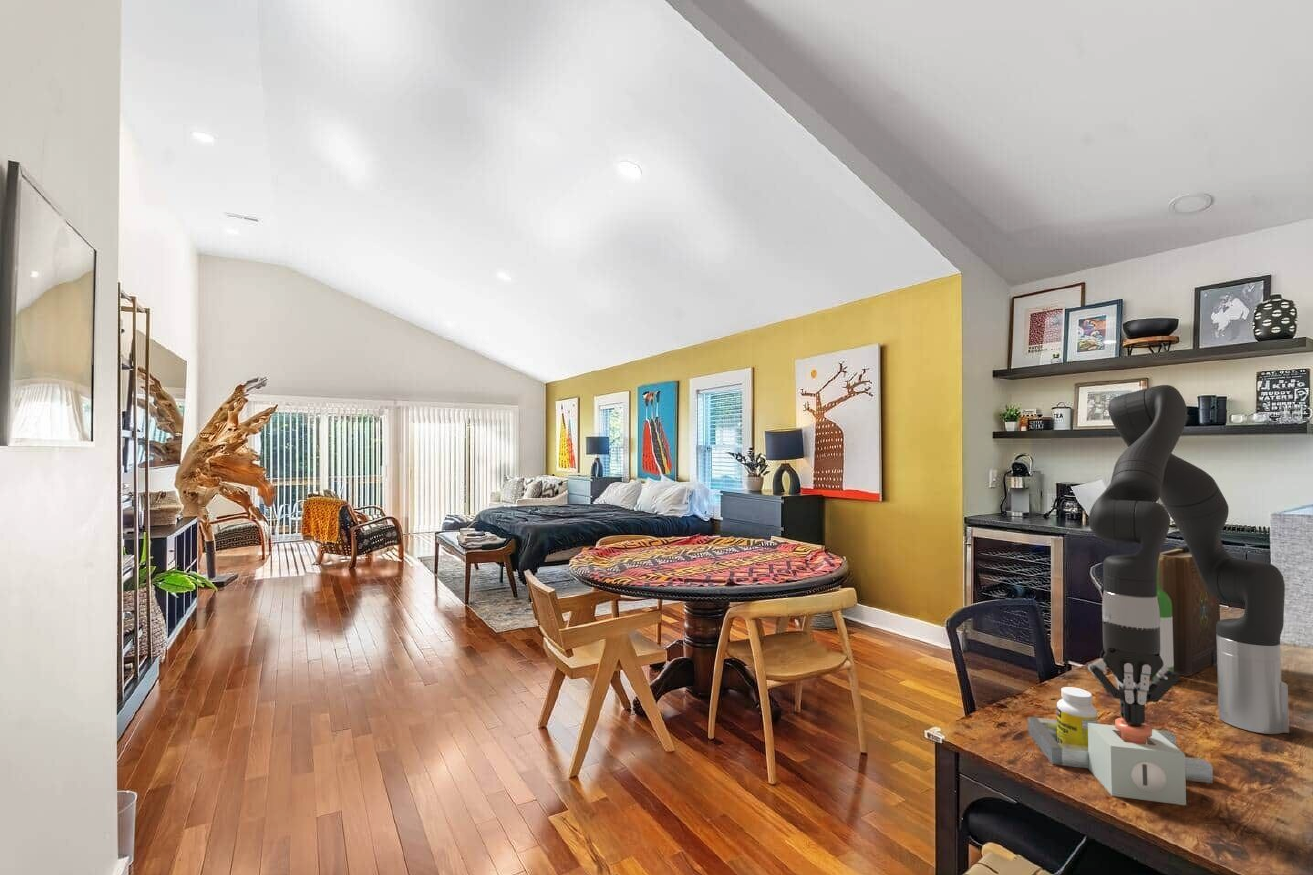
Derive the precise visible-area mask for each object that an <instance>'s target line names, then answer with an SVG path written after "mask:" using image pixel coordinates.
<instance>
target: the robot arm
mask: <svg viewBox="0 0 1313 875" xmlns="http://www.w3.org/2000/svg"><path fill="white" fill-rule="evenodd" d="M1107 406H1108V407H1107V408H1108V414H1109V418H1110V420H1111V422H1112V424H1113V426H1114V428H1115V430H1116V431H1117V433H1118V434H1119V436H1120V438H1122V440H1123V441H1124V443H1125V444H1126V446H1127V448H1126V449H1125V450H1124V451H1123V452H1122V454H1121V455H1120V456H1119V457H1118V458H1117V461H1116V462H1115V464H1114V467H1113V472H1112V475H1111V479H1110V483H1109V485H1108V486H1107V487H1106V489H1104V491H1103V492H1102V493H1101V494H1100V495H1099V497H1097V499H1096V500H1095V502H1094V503H1093V504H1092V507H1091V509H1090V510H1089V514H1088V526H1089V529H1090V530H1091V532H1092V533H1093V535H1095V536H1096V538H1099V539H1101V540H1104V541H1109V542H1121V543H1133V544H1141V546H1140V549H1139V551H1136V553H1131V554H1120V555H1119V554H1117V555H1116V554H1115V555H1110V556H1107V557H1106V558H1105V559H1104V560H1103V566H1102V567H1103V569H1102V572H1103V573H1102V574H1103V575H1102V576H1103V593H1102V594H1103V595H1102V601H1101V606H1102V607H1101V612H1102V614H1101V616H1102V620H1101V621H1102V644H1103V645H1102V646H1103V648H1102V651H1101V652H1100V655H1099V657H1100V658H1099V659H1097V660H1095V661H1094V662H1091V661H1089V662H1086V664H1085V667H1086V669H1087V670H1088V671H1089V672H1090V673H1091V674H1092V675H1093V677H1094V678H1095V679H1096V680H1097V682H1098V683H1099V684H1100V685H1101V686H1102V688H1104V690H1105V691H1106V692H1107V693H1108V694H1110V695H1111V696H1112V697H1113V698H1114V699H1117V700H1119V701H1120V704H1119V705H1120V716H1121V717H1120V718H1123V719H1124V720H1125V722H1126V723H1127V724H1129V725H1130V726H1137V727H1141V723H1143V724H1144V723H1146V709H1145V708H1146V707H1145V706H1146V704H1147V703H1151V702H1153V703H1157V702H1159V700H1161V699H1162V698H1163V697H1164V696H1165V695H1166V694H1167V693H1168V692H1169V690H1171V689H1172V688H1173V687H1174V686H1175V684H1177V683H1178V682H1179V681H1180V679H1181V677H1180V676H1181V675H1178V674H1177V673H1175V672H1173V671H1172V670H1170V669H1168V668H1167V667H1165V666H1164V665H1163V664H1164V663H1163V660H1162V658H1161V657H1160V621H1161V619H1160V611H1159V604H1158V599H1157V567H1158V561H1159V557H1160V553H1161V552H1162V549H1163V546H1164V544H1165V541H1166V538H1167V536H1168V533H1169V530H1170V527H1171V519H1172V521H1173V523H1174V524H1175V526H1176V528H1177V530H1178V532H1179V533H1180V535H1181V537H1182V539H1183V540H1184V543H1185V544H1187V546H1188V548H1189V550H1190V553H1191V555H1192V557H1193V560H1194V562H1195V565H1196V567H1197V569H1198V572H1199V574H1200V577H1201V579H1202V581H1203V583H1204V585H1205V587H1206V588H1207V590H1208V591H1209V592H1210V593H1211V594H1212V595H1213V596H1214V597H1216V598H1218V599H1220V600H1221V601H1223V602H1228V603H1232V604H1238V605H1240V606H1241V605H1242V606H1244V614H1243V616H1241V617H1238V618H1237V617H1236V618H1223V619H1220V620H1219V621H1218V622H1217V624H1216V638H1217V665H1216V666H1217V710H1218V718H1219V719H1220V720H1221V721H1223V723H1226V724H1228V725H1230V726H1233V727H1235V728H1239V729H1242V730H1245V731H1249V732H1254V733H1259V734H1265V735H1279V734H1282V733H1287V734H1290V722H1289V717H1290V716H1289V688H1288V687H1289V686H1288V684H1287V683H1286V682H1284V681H1282V660H1281V658H1282V657H1281V655H1282V654H1281V635H1282V631H1283V629H1284V623H1285V622H1284V619H1285V618H1284V617H1285V616H1284V615H1285V613H1284V612H1285V596H1286V595H1285V594H1286V592H1285V591H1286V587H1285V580H1284V576H1283V574H1282V572H1281V571H1280V569H1279V568H1278V567H1277V566H1275V565H1274V564H1271V563H1268V562H1262V561H1255V560H1249V559H1242V558H1236V557H1233V556H1232V555H1230V554H1229V553H1228V551H1227V550H1226V548H1225V546H1224V544H1223V543H1222V540H1221V534H1222V532H1223V529H1224V527H1225V525H1226V523H1227V520H1228V517H1229V513H1230V510H1229V504H1228V502H1227V500H1226V498H1225V496H1224V494H1223V492H1222V491H1221V489H1220V487H1219V485H1218V483H1217V482H1216V481H1215V479H1214V478H1213V477H1212V476H1211V475H1210V474H1209V473H1208V472H1206V471H1205V470H1203V469H1202V468H1200V467H1198V466H1196V465H1194V464H1193V463H1191V462H1189V461H1187V460H1186V459H1185V460H1184V458H1181V457H1180V456H1176V455H1175V454H1173V453H1172V452H1173V451H1174V449H1175V447H1176V445H1177V443H1178V442H1179V439H1180V438H1181V435H1182V433H1183V431H1184V429H1185V427H1186V424H1187V420H1188V408H1187V404H1186V402H1185V399H1184V397H1183V395H1182V394H1181V392H1180V391H1179V390H1178V389H1177V388H1176V387H1174V386H1173V385H1168V384H1161V385H1156V386H1151V387H1146V388H1143V389H1139V390H1135V391H1131V392H1127V393H1124V394H1120V395H1117V396H1114V397H1113V398H1111V399H1110V401H1108V405H1107ZM1159 500H1160V501H1161V503H1162V504H1163V505H1162V504H1160V503H1158V501H1159ZM1106 668H1108V670H1109V671H1110V672H1111V673H1112V675H1113V676H1114V677H1115V682H1116V685H1117V687H1116V686H1115V684H1113V682H1111V680H1110V679H1109V678H1108V677H1107V676H1106V675H1107V674H1108V673H1107V672H1108V670H1107V669H1106ZM1155 675H1157V677H1156V678H1155V679H1154V680H1151V679H1152V678H1153V677H1154V676H1155Z"/></svg>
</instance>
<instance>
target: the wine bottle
mask: <svg viewBox="0 0 1313 875" xmlns="http://www.w3.org/2000/svg"><path fill="white" fill-rule="evenodd" d="M1157 599H1158V604H1159V611H1160V619H1161V621H1160V657H1161V658H1162V660H1163V663H1164V664H1163V665H1164V666H1165V667H1167V668H1168V669H1170V670H1172V671H1173V672H1174V658H1173V622H1172V603H1171V600H1170V598H1169V596H1168V595H1167V594H1166V593H1165V592H1164V591H1163V590H1161V589H1160V587H1159V574H1158V567H1157ZM1156 677H1157V675H1155V676H1154V677H1153V678H1152V679H1151V680H1150V681H1153V680H1154V679H1155V678H1156Z"/></svg>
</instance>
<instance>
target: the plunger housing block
mask: <svg viewBox="0 0 1313 875" xmlns="http://www.w3.org/2000/svg"><path fill="white" fill-rule="evenodd" d="M1156 730H1157V729H1153V728H1152V736H1151V737H1146V744H1138V743H1129V742H1124V741H1123V740H1122V739H1121V731H1119V730H1118V729H1116V727H1115V724H1105V723H1104V724H1103V723H1098V724H1095V723H1088V759H1089V769H1088V770H1089V771H1090V772H1091V773H1092V775H1094V777H1095V778H1096V779H1097V780H1098V782H1099V783H1100V785H1102V786H1103V788H1104V789H1105V790H1106V791H1107V792H1108V793H1109V794H1110V796H1111V797H1118V798H1126V799H1134V800H1142V801H1148V802H1156V803H1162V804H1163V803H1164V804H1172V805H1180V806H1187V790H1186V787H1187V786H1186V785H1187V784H1186V781H1187V780H1185V757H1186V755H1185V752H1183V751H1182V750H1181V749H1179V748H1178V747H1177V745H1176V746H1175V745H1173V744H1172V743H1171V742H1170V741H1169V740H1167V739H1166V738H1165V737H1164V736H1162V735H1161V734H1160V733H1159V732H1158V731H1156Z"/></svg>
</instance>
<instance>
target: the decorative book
mask: <svg viewBox="0 0 1313 875" xmlns="http://www.w3.org/2000/svg"><path fill="white" fill-rule="evenodd" d="M1158 574H1159V587H1160V589H1161V590H1163V591H1164V592H1165V593H1166V594H1167V595H1168V596H1169V598H1170V600H1171V603H1172V622H1173V658H1174V672H1175V673H1177V674H1178V675H1179V676H1185V677H1187V676H1189V677H1190V676H1193V675H1194V674H1197V673H1198V672H1200V671H1203V670H1204V669H1206V668H1208V667H1209V666H1211V667H1215V666H1217V638H1216V624H1217V622H1218V621H1219V620H1221V602H1220V599H1218V598H1216V597H1214V596H1213V595H1212V594H1211V593H1210V592H1209V591H1208V590H1207V588H1206V587H1205V585H1204V583H1203V581H1202V579H1201V577H1200V574H1199V572H1198V569H1197V567H1196V565H1195V562H1194V560H1193V557H1192V555H1191V553H1190V550H1189V548H1188V546H1187V544H1186V543H1185V544H1180V545H1176V548H1174V549H1170V550H1165V551H1161V553H1160V557H1159V561H1158Z"/></svg>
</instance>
